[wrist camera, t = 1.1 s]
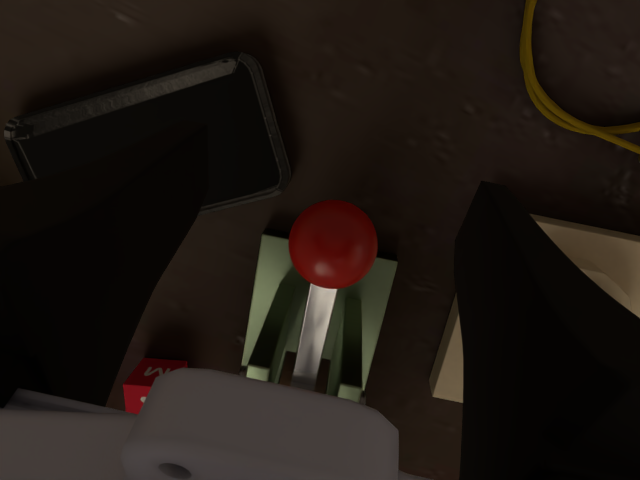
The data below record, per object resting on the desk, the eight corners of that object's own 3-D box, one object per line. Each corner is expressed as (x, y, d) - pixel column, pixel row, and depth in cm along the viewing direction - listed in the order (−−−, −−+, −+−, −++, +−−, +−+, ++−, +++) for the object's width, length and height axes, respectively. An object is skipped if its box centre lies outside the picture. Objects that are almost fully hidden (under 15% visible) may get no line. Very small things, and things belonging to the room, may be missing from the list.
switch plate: (580, 412, 31) (607, 452, 28) (428, 380, 31) (436, 416, 28) (658, 239, 27) (699, 261, 24) (483, 203, 27) (500, 221, 24)
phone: (-4, 122, 27) (251, 45, 24) (11, 120, 28) (256, 47, 25) (55, 252, 29) (294, 194, 27) (66, 246, 30) (296, 189, 28)
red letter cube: (143, 357, 32) (122, 384, 29) (187, 360, 32) (170, 388, 29) (147, 395, 33) (127, 424, 30) (189, 398, 33) (173, 428, 30)
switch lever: (302, 175, 18) (286, 224, 15) (388, 192, 18) (386, 245, 15) (272, 376, 25) (257, 432, 22) (332, 389, 25) (325, 447, 22)
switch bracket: (265, 227, 29) (220, 298, 19) (396, 254, 29) (414, 338, 19) (242, 368, 32) (194, 486, 23) (360, 393, 32) (361, 522, 23)
